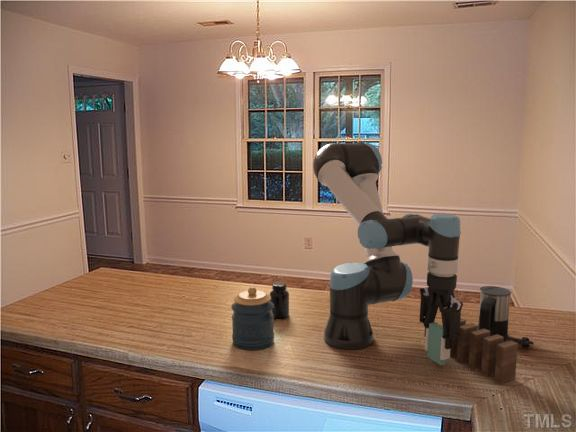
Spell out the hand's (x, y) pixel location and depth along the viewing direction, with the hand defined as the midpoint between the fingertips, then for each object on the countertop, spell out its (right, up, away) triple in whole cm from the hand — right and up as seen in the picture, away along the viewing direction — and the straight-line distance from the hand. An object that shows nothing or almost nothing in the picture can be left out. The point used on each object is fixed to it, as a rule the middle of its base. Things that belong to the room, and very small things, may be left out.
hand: (437, 353), depth 131 cm
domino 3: (+9, -3, +4) cm, 11 cm away
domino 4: (+11, -3, 0) cm, 12 cm away
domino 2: (+8, -2, +8) cm, 11 cm away
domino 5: (+13, -4, -4) cm, 14 cm away
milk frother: (+26, -1, +17) cm, 31 cm away
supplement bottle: (-44, +2, +37) cm, 57 cm away
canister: (-52, -1, +17) cm, 54 cm away
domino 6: (+15, -5, -7) cm, 18 cm away
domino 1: (0, -2, 0) cm, 2 cm away
